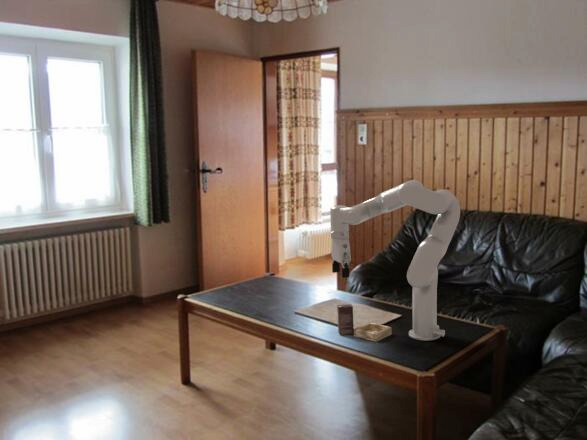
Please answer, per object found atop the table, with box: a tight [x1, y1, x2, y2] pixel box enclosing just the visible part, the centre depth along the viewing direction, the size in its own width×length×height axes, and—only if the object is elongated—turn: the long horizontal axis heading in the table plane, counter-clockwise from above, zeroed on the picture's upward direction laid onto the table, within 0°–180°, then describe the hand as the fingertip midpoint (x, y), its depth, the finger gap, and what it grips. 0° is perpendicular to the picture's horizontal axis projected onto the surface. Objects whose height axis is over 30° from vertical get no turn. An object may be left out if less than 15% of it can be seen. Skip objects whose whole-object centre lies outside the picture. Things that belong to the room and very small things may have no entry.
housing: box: [353, 321, 393, 343], centre depth 248 cm, size 11×11×3 cm
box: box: [336, 303, 355, 336], centre depth 250 cm, size 6×4×12 cm
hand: (340, 274), depth 257 cm, fingers open, 9 cm apart
